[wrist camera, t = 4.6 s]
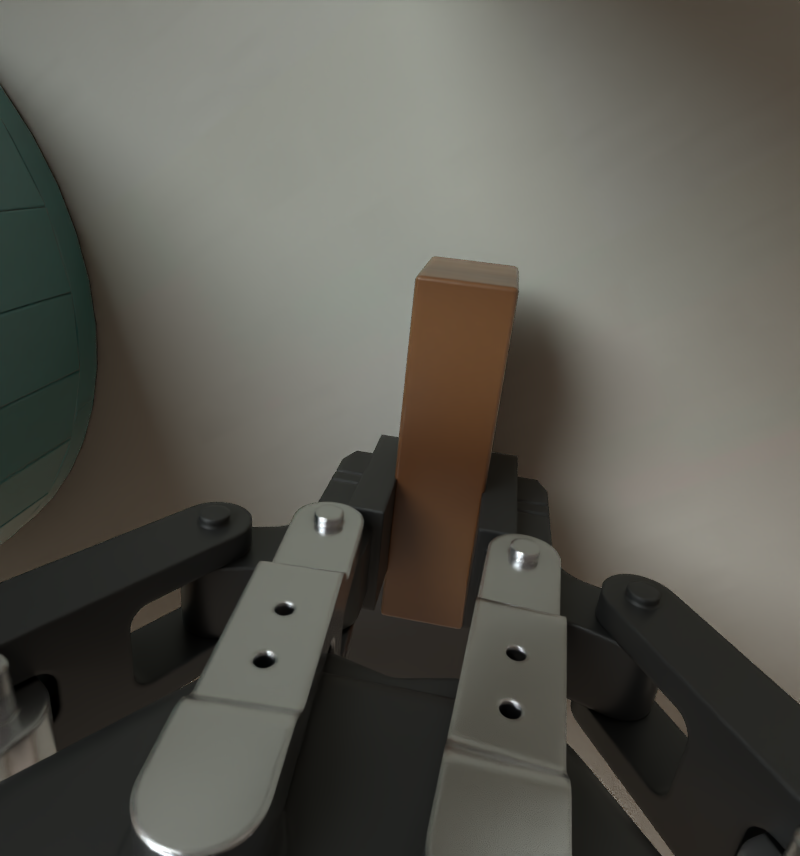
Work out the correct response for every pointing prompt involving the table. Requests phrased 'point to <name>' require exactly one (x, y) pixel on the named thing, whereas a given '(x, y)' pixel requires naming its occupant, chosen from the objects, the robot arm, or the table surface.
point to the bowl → (39, 330)
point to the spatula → (440, 467)
